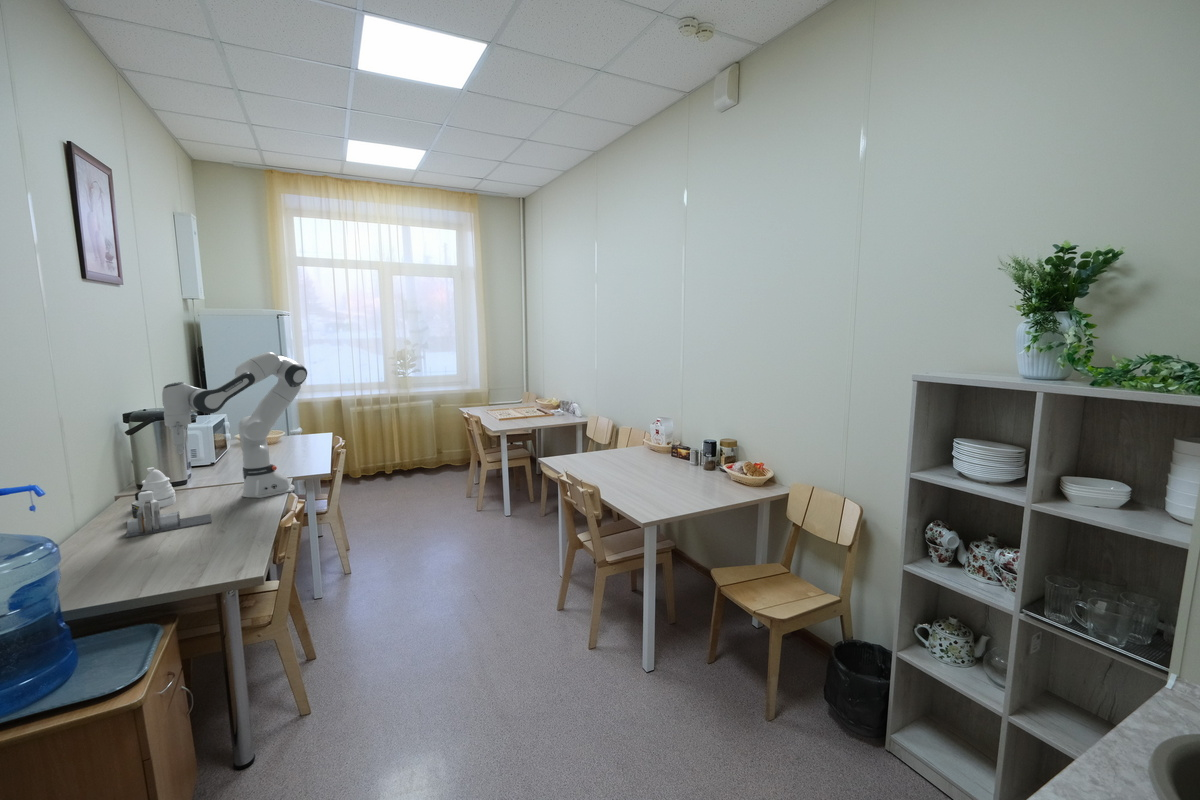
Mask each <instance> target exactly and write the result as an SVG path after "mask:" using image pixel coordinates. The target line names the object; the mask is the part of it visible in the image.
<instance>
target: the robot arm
mask: <svg viewBox="0 0 1200 800" xmlns="http://www.w3.org/2000/svg"><path fill="white" fill-rule="evenodd" d="M234 375H235V376H234V378H232V379H231V380H229V381H228V382H226V383H224V384H223V385H221V386H218V387H217V388H214V389H213V388H212V389H205V388H200V387H195V386H192V385H190V384H187V383H186V382H184V381H181V382H180V381H179V382H172V383H169V384H167V385H165V386H163V388H162V394H161V396H162V397H161V398H162V406H163V409H164V412H163V419H164V426H166V427H168V428H169V430H172V440H173V441H172V442H173V446H176V448H177V454H178V455H179V456H181V455H183V454H184V450H185V444H186V437H187V429H189V425H191V424H192V415H191V411H195V410H196V411H199V412H201V413H204V414H215V413H217V412H218V411H220V410H222V408H223V407H224V406H225V404H226V403H227V402H228V401H229V400H230V399H232V398H234V397H235V396H237V395H238V394H240V393H242V392H244V391H245V390H246V389H248V388H249V387H252V386H253V385H255V384H257V383H260V382H261V381H264V380H265V379H267V378H268V377H270V376H271V375H274V377H276V378H277V379H278V380H277V382H276V384H274V386H273V387H271V389H270V390H268V392H267V394H266V395H265V396H263V398H262V399H261V400H260V401H259V403H258V405H257V406H256V408H255V410H254V411H253V413H252V414H251V415H247V416H244V417H242V418H241V419H240V420H239V423H238V434H239V441H240V446H241V453H242V462H243V464H242V465H243V467H242V478H243V490H242V494H241V496H242V497H243V498H257V499H263V498H266V497H271V496H276V495H277V496H278V495H281V494H285V493H291V492H293V491H295V490H296V488H295V485H294V484H292V483H290V480H289V477H287V476H286V474H285V475H284V474H282V473H281V472H278V471H277V470H278V467H277V466H276V465H275V464H273V463H271V460H270V448H269V443H268V439H267V437H268V436H269V435H270V432H271V431H272V429H273V428H274V427H275V425H276V423H277V422H278V420H279V418H280V417H281V416H282V414H283V413H284V412H285V411H286V409H287V408H288V407H289V406H290V405H291V403H292V402H293V401H294V400H295V399H296V397H297V395H298V393H300V390H301V387H302V386H301V385H302V384H303V383H304V382H305V380H306V379H307V377H308V370H307V368H306V367H305V366H304V365H303V364H301V363H300V362H298V361H295V360H294V359H292V358H289V357H286V356H284V355H282V354H279V353H277V354H276V353H275V352H271V351H266V352H263V353H260V354H258V355H255V356H252V357H251V358H248V359H247V360H245V361H244V362H241V363H240V364H238V366H237V367H236V368H235V370H234Z"/></svg>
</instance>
